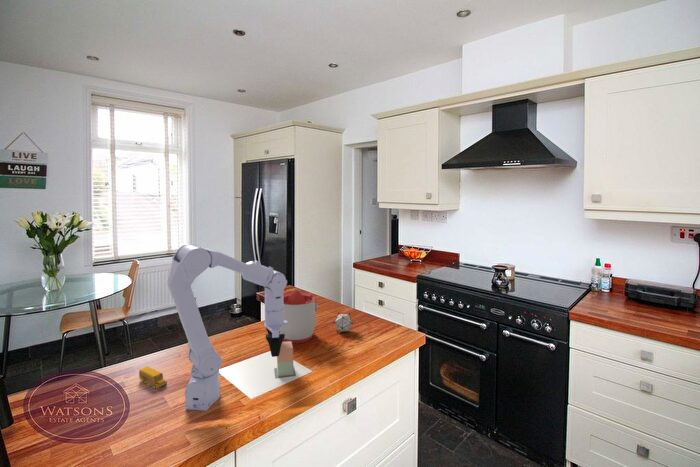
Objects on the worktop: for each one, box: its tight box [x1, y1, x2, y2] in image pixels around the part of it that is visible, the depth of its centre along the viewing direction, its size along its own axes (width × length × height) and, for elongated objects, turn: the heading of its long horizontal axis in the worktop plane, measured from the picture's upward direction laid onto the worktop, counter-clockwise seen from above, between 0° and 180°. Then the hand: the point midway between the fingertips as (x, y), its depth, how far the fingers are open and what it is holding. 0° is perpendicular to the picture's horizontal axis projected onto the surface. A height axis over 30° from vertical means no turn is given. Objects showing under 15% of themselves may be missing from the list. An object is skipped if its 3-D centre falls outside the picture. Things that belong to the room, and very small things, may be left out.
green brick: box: [277, 361, 293, 377], centre depth 112 cm, size 5×5×4 cm
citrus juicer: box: [279, 290, 321, 344], centre depth 139 cm, size 16×17×20 cm
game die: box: [332, 312, 355, 334], centre depth 148 cm, size 9×8×10 cm
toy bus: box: [138, 366, 168, 390], centre depth 107 cm, size 3×10×4 cm, turn 58°
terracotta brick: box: [277, 341, 294, 363], centre depth 112 cm, size 5×5×4 cm
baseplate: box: [219, 350, 313, 400], centre depth 113 cm, size 22×22×1 cm
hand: (274, 350), depth 111 cm, fingers open, 7 cm apart
